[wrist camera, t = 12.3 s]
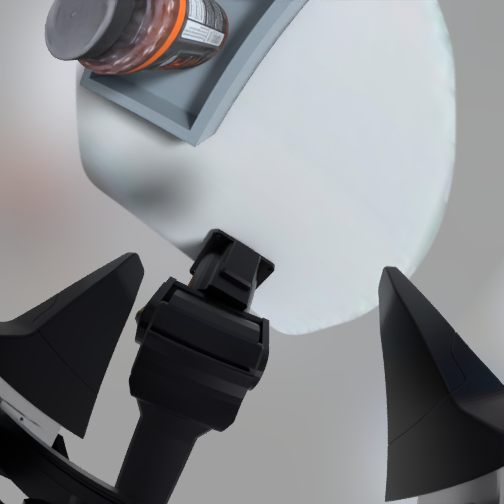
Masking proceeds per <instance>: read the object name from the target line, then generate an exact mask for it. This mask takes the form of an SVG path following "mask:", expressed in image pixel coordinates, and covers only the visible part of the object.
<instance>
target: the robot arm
mask: <svg viewBox="0 0 504 504" xmlns="http://www.w3.org/2000/svg"><path fill="white" fill-rule="evenodd" d="M217 234H218V235H220V237H218V236H217ZM268 267H271V268H268ZM274 269H275V265H274V264H273V263H272V262H270V261H269V260H267V259H266V258H264V257H262V256H261V255H260V254H258V253H257V252H255V251H253V250H252V249H250V248H249V247H247V246H245V245H244V244H242V243H241V242H239V241H237V240H235V239H234V238H232V237H231V236H229V235H228V234H226V233H224V232H223V231H221V230H216V231H215V232H214V233H213V235H212V236H211V238H210V239H209V241H208V242H207V244H206V245H205V247H204V248H203V250H202V251H201V253H200V254H199V256H198V258H197V259H196V261H195V262H194V264H193V265H192V267H191V269H190V273H191V274H192V275H193V277H192V279H191V281H190V283H189V284H188V286H187V285H185V284H183V283H180V282H178V281H176V279H175V278H172V277H170V278H169V279H168V280H167V281H166V282H164V283H163V284H162V286H161V287H160V288H159V289H158V291H157V292H156V293H155V294H154V295H153V297H152V298H151V299H150V301H149V302H148V303H147V304H146V306H144V307H143V308H142V309H141V310H140V311H138V313H137V314H136V317H135V320H136V323H137V331H136V336H135V342H136V343H138V344H140V348H139V351H138V353H137V356H136V358H135V361H134V364H133V367H132V370H131V375H130V377H129V387H130V394H131V396H133V397H135V398H136V399H137V403H138V406H139V410H140V418H139V421H138V423H137V426H136V429H135V431H134V434H133V437H132V439H131V442H130V445H129V448H128V450H127V453H126V456H125V459H124V461H123V464H122V467H121V470H120V473H119V476H118V479H117V482H116V484H115V487H113V486H110V485H109V484H107V483H105V482H104V481H102V480H100V479H98V478H96V477H95V476H93V475H91V474H90V473H88V472H86V471H85V470H83V469H82V468H80V467H79V466H77V465H75V464H74V463H72V462H71V461H69V458H68V454H67V451H66V447H65V443H64V439H63V436H61V435H59V434H58V432H59V430H60V428H61V426H63V427H64V428H66V429H67V430H69V431H70V432H72V433H73V434H75V435H77V436H78V437H80V438H82V439H83V438H84V436H85V432H86V429H87V426H88V423H89V419H90V416H91V413H92V410H93V407H94V404H95V401H96V398H97V394H98V392H99V389H100V386H101V384H102V381H103V378H104V375H105V373H106V370H107V367H108V365H109V362H110V360H111V357H112V354H113V352H114V350H115V347H116V345H117V342H118V340H119V337H120V335H121V333H122V330H123V328H124V326H125V323H126V321H127V319H128V316H129V314H130V312H131V309H132V307H133V304H134V302H135V299H136V296H137V293H138V290H139V287H140V284H141V282H142V279H143V276H144V268H143V266H142V263H141V261H140V258H139V255H138V254H137V253H126V254H124V255H122V256H121V257H119V258H117V259H115V260H114V261H112V262H110V263H108V264H107V265H105V266H103V267H101V268H99V269H98V270H96V271H94V272H93V273H91V274H89V275H87V276H86V277H84V278H82V279H81V280H79V281H77V282H76V283H74V284H72V285H71V286H69V287H67V288H66V289H64V290H63V291H61V292H60V293H58V294H56V295H54V296H53V297H51V298H50V299H48V300H46V301H45V302H43V303H41V304H40V305H38V306H36V307H34V308H33V309H31V310H29V311H27V312H26V313H24V314H22V315H21V316H19V317H17V318H15V319H13V320H11V321H7V322H0V475H2V476H4V477H6V478H8V479H10V480H12V481H13V483H14V484H15V485H16V486H17V487H18V488H19V489H21V491H22V492H23V493H24V494H25V495H27V496H28V497H29V498H28V499H24V500H23V504H167V503H168V501H169V498H170V496H171V494H172V492H173V490H174V488H175V485H176V484H177V481H178V479H179V477H180V475H181V473H182V471H183V468H184V466H185V464H186V462H187V460H188V457H189V455H190V453H191V451H192V448H193V446H194V444H195V442H196V440H197V438H198V437H200V436H202V435H203V434H205V433H207V432H209V431H210V430H212V429H214V430H217V431H220V432H222V431H224V430H225V429H226V428H228V427H229V426H230V425H231V424H232V423H233V422H234V420H235V418H236V415H237V412H238V410H239V408H240V405H241V402H242V400H243V398H244V396H245V394H246V392H247V390H252V389H253V388H254V387H255V386H256V385H257V383H258V382H259V380H260V378H261V377H262V375H263V372H264V370H265V367H266V364H267V361H268V356H269V320H267V319H265V318H259V317H257V316H255V315H252V314H250V313H249V310H250V306H251V303H252V299H253V296H254V292H255V290H256V289H257V288H258V287H259V286H260V285H261V284H262V283H263V282H264V281H265V280H266V279H267V278H268V277H269V276H270V274H271V273H272V272H273V271H274ZM378 293H379V313H380V334H381V342H382V350H383V359H384V369H385V381H386V395H387V415H388V416H387V417H388V460H387V481H386V494H385V502H387V501H394V500H401V499H406V498H412V497H417V496H418V503H417V504H504V385H503V384H502V383H501V382H500V381H499V379H498V378H497V377H496V376H495V375H494V374H493V373H492V372H491V371H490V370H489V368H488V367H487V366H486V365H485V364H484V363H483V362H482V361H481V360H480V359H479V358H478V357H477V355H476V354H475V353H474V352H473V351H472V350H471V349H470V348H469V346H468V345H467V344H466V343H465V342H464V341H463V339H462V338H461V337H460V336H459V335H458V333H456V332H455V330H454V329H453V328H452V326H450V324H449V323H448V322H447V321H446V320H445V318H444V317H443V316H442V315H441V314H440V313H439V312H438V310H437V309H435V307H434V306H433V305H432V304H431V303H430V302H429V301H428V300H427V298H425V296H424V295H423V294H422V293H421V292H420V291H419V290H418V289H417V288H416V287H415V286H414V285H413V284H412V283H411V282H410V281H409V280H408V278H407V277H406V276H405V275H404V274H403V273H402V272H401V271H400V270H399V269H398V268H396V267H390V266H386V267H384V269H383V272H382V276H381V279H380V283H379V289H378ZM0 504H4V503H3V502H2V501H1V500H0Z"/></svg>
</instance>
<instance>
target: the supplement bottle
mask: <svg viewBox="0 0 504 504" xmlns="http://www.w3.org/2000/svg"><path fill="white" fill-rule="evenodd" d="M228 32H229V23H228V18H227V15H226V13H225V11H224V10H223V8H222V7H221V6H220V5H219V4H218V3H217V2H215V1H214V0H55V1H54V3H53V5H52V6H51V9H50V11H49V14H48V16H47V20H46V24H45V40H46V45H47V47H48V50H49V51H50V53H51V54H52V55H53V56H54V57H55V58H57V59H60V60H65V61H66V60H78V61H79V62H80V63H81V64H82V65H83V66H84V67H86V68H87V69H88V70H90V71H93V72H95V73H98V74H104V75H116V74H127V73H134V72H145V71H155V70H172V69H187V68H192V67H195V66H198V65H201V64H203V63H205V62H207V61H208V60H210V59H211V58H212V57H214V56H215V55H216V54H217V53H218V52H219V51H220V50H221V48H222V47H223V45H224V43H225V41H226V39H227V36H228Z"/></svg>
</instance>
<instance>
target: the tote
mask: <svg viewBox="0 0 504 504" xmlns="http://www.w3.org/2000/svg"><path fill="white" fill-rule="evenodd" d="M214 1H215V2H217V3H218V4H219V5H220V6H221V7H222V8H223V10H224V11H225V13H226V15H227V18H228V23H229V32H228V36H227V39H226V41H225V43H224V45H223V47H222V48H221V50H220V51H219V52H218V53H217V54H216V55H215V56H214V57H212V58H211V59H210V60H208V61H207V62H205V63H203V64H201V65H198V66H195V67H192V68H187V69H172V70H155V71H145V72H134V73H127V74H116V75H104V74H98V73H95V72H93V71H90V70H88V69H87V68H86V67H85V70H84V73H83V76H82V79H81V82H80V85H81V86H83V87H85V88H88V89H90V90H92V91H94V92H96V93H98V94H100V95H102V96H104V97H106V98H107V99H109V100H111V101H113V102H115V103H117V104H119V105H121V106H123V107H125V108H127V109H128V110H130V111H132V112H134V113H136V114H138V115H140V116H141V117H143V118H145V119H147V120H149V121H150V122H152V123H154V124H156V125H158V126H159V127H161V128H163V129H165V130H166V131H168V132H170V133H172V134H173V135H175V136H177V137H178V138H180V139H182V140H184V141H185V142H187V143H189V144H190V145H192V146H194V147H196V146H197V145H199V144H200V143H202V142H203V141H205V140H206V139H208V138H209V137H211V136H212V135H214V134H215V132H216V131H217V129H218V127H219V126H220V124H221V122H222V121H223V119H224V117H225V116H226V114H227V113H228V111H229V109H230V108H231V106H232V105H233V103H234V101H235V100H236V98H237V97H238V95H239V94H240V92H241V91H242V89H243V88H244V86H245V85H246V83H247V82H248V80H249V79H250V77H251V76H252V74H253V73H254V71H255V70H256V68H257V67H258V65H259V64H260V63H261V61H262V60H263V58H264V57H265V56H266V54H267V53H268V51H269V50H270V49H271V47H272V46H273V45H274V43H275V42H276V41H277V39H278V38H279V37H280V35H281V34H282V33H283V31H284V30H285V29H286V28H287V26H288V25H289V24H290V22H291V21H292V20H293V19H294V17H295V16H296V15H297V14H298V13H299V11H300V10H301V9H302V8H303V7H304V5H305V4H306V3H307V2H308V1H309V0H214Z"/></svg>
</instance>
